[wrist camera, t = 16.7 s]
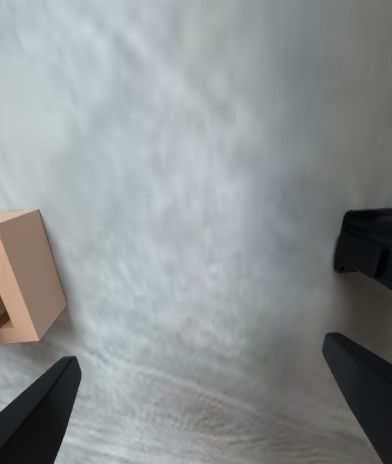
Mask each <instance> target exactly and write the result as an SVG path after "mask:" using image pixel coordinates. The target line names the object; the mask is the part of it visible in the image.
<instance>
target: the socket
mask: <svg viewBox="0 0 392 464" xmlns="http://www.w3.org/2000/svg"><path fill="white" fill-rule="evenodd" d="M0 295H1V298H2V300H3V302H4V305H5V307H6V311H5V312H4V313H3V314H2V315H1V316H0V344H6V343H18V342H30V341H39V340H40V339H41V338H42V337H43V335H44V334H45V333H46V331H47V330H48V329H49V327H50V326H51V325H52V324H53V322H54V321H55V320H56V318H57V317H58V316H59V315H60V313H61V312H62V311H63V309H64V308H65V307H66V306H67V303H66V299H65V296H64V293H63V289H62V286H61V283H60V280H59V276H58V273H57V270H56V266H55V263H54V260H53V256H52V253H51V250H50V246H49V243H48V240H47V236H46V233H45V230H44V226H43V223H42V220H41V216H40V213H39V210H38V209H31V210H14V211H0Z"/></svg>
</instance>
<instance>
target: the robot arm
mask: <svg viewBox="0 0 392 464" xmlns="http://www.w3.org/2000/svg"><path fill="white" fill-rule="evenodd" d="M352 214H353V216H352V217H351V215H352ZM340 267H341V268H340ZM335 270H336V271H338V272H339V273H345V272H358V271H360V272H361V273H363V274H364V275H366V276H368V277H369V278H371V279H374V280H376V281H378V282H379V283H381V284H382V285H384V286H385V287H387V288H389V289H390V290H392V208H380V209H364V210H350V211H348V212H347V213H346V214H345V218H344V223H343V228H342V233H341V238H340V243H339V248H338V253H337V258H336V263H335ZM322 352H323V356H324V358H325V360H326V362H327V364H328V366H329V368H330V370H331V372H332V374H333V376H334V378H335V380H336V382H337V384H338V386H339V388H340V390H341V392H342V394H343V396H344V398H345V400H346V402H347V404H348V405H349V407H350V409H351V411H352V412H353V414H354V416H355V417H356V419H357V420H358V422H359V424H360V425H361V427H362V429H363V430H364V432H365V434H366V435H367V437H368V439H369V440H370V442H371V444H372V445H373V447H374V449H375V450H376V452H377V454H378V455H379V457H380V459H381V460H382V462H383V464H392V364H391V363H389V362H388V361H386V360H384V359H382V358H381V357H379V356H377V355H376V354H374V353H372V352H371V351H369V350H367V349H366V348H364V347H362V346H361V345H359V344H357V343H356V342H354V341H352V340H351V339H349V338H347V337H346V336H344V335H342V334H340V333H338V332H331V333H326V335H325V338H324V343H323V348H322ZM81 375H82V374H81V369H80V366H79V363H78V360H77V357H76V356H66V357H62V358H61V359H60V360H59V361H57V362H56V363H55V364H54V365H53V366H52V367H51V368H49V369H48V370H47V371H46V372H45V373H44V374H43V375H42V376H40V377H39V378H38V379H37V380H36V381H35V382H34V383H33V384H31V385H30V386H29V387H28V388H27V389H26V390H25V391H23V392H22V393H21V394H20V395H19V396H18V397H17V398H16V399H14V400H13V401H12V402H11V403H10V404H9V405H8V406H7V407H5V408H4V409H3V410H2V411H1V412H0V464H54V462H55V459H56V456H57V454H58V451H59V449H60V446H61V443H62V441H63V438H64V435H65V432H66V429H67V426H68V422H69V419H70V415H71V412H72V409H73V405H74V402H75V398H76V395H77V391H78V388H79V385H80V381H81Z"/></svg>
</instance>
